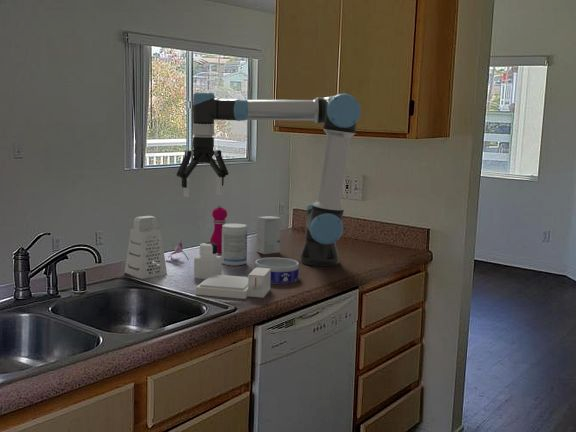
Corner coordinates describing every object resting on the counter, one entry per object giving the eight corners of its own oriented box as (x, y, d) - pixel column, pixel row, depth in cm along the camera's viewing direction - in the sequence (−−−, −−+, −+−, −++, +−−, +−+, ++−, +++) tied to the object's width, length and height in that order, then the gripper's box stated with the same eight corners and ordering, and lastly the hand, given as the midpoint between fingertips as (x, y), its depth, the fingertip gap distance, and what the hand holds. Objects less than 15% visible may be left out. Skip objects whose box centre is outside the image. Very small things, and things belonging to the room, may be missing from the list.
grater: (167, 274, 227) (167, 217, 223) (141, 278, 219) (141, 220, 216) (150, 268, 234) (150, 213, 231) (124, 272, 226) (124, 216, 223)
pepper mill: (229, 251, 268) (230, 203, 265) (225, 254, 261) (226, 205, 258) (212, 249, 269) (213, 202, 266) (207, 253, 262) (208, 204, 259)
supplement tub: (251, 264, 245) (252, 226, 243) (228, 267, 240) (229, 228, 237) (238, 259, 253) (239, 222, 251) (216, 261, 248) (217, 224, 245)
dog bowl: (285, 272, 237) (286, 255, 236) (306, 282, 223) (306, 265, 222) (247, 275, 230) (248, 258, 229) (266, 286, 216) (266, 268, 215)
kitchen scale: (272, 287, 214) (272, 266, 213) (261, 300, 199) (261, 278, 198) (211, 282, 218) (211, 261, 217) (195, 294, 203) (196, 272, 202)
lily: (182, 257, 258) (170, 237, 255) (204, 250, 252) (192, 228, 249) (166, 272, 248) (153, 251, 246) (188, 265, 242) (175, 243, 239)
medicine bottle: (204, 273, 229) (204, 240, 227) (222, 276, 226) (222, 242, 225) (193, 278, 223) (194, 243, 221) (211, 280, 220) (212, 246, 218)
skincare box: (263, 254, 263) (264, 218, 261) (255, 251, 268) (256, 216, 266) (280, 252, 268) (281, 217, 266) (272, 249, 273) (273, 215, 271)
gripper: (226, 136, 241) (226, 193, 244) (166, 135, 225) (166, 196, 228) (238, 137, 235) (237, 195, 238) (177, 136, 220) (177, 198, 223)
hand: (202, 196), depth 233 cm, fingers open, 13 cm apart
